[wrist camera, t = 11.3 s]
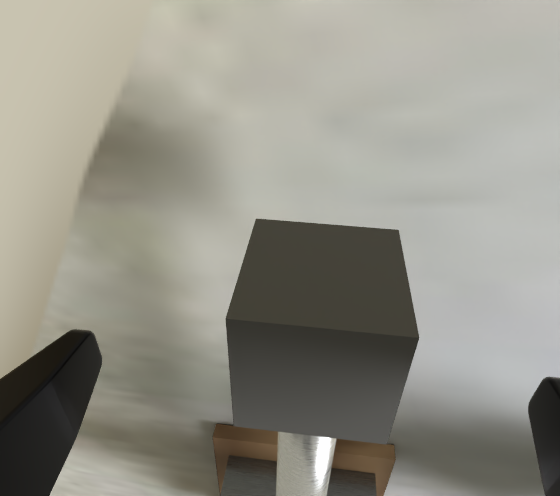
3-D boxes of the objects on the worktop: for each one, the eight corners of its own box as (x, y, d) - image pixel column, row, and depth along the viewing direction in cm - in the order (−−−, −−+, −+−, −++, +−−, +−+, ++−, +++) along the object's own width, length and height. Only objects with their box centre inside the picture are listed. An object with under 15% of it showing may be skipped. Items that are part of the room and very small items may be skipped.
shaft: (398, 229, 12) (418, 338, 9) (331, 537, 24) (330, 630, 21) (256, 218, 12) (225, 318, 9) (260, 527, 24) (248, 617, 21)
